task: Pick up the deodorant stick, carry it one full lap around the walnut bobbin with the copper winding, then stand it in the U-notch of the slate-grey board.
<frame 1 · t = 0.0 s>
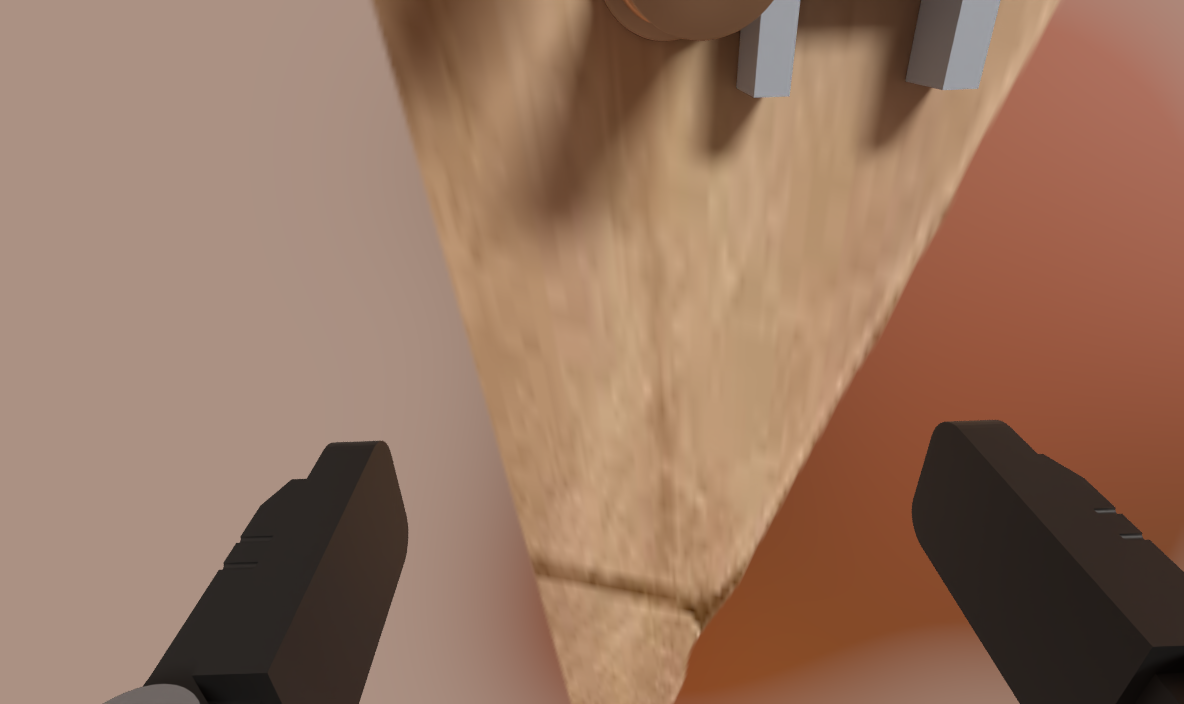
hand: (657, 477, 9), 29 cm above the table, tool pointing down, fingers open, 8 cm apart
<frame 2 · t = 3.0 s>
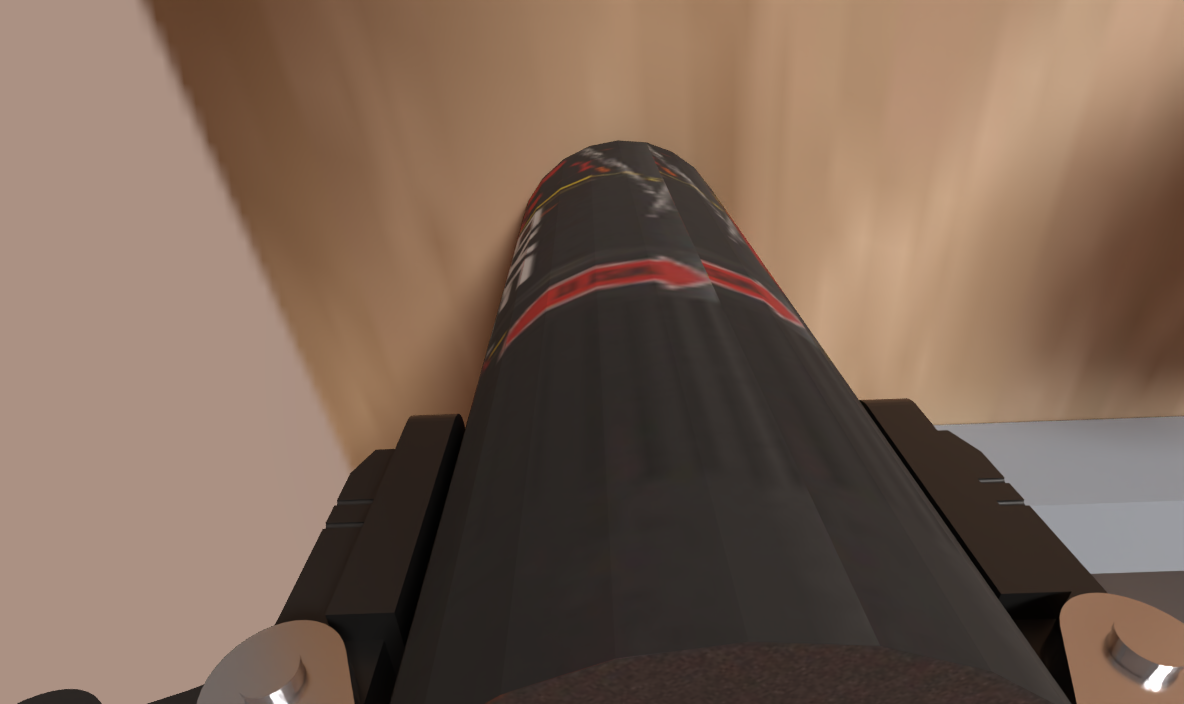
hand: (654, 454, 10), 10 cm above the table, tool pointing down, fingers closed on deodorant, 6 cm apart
deodorant: (621, 242, 18), on the table, touching gripper
notch board: (1016, 516, 24), on the table
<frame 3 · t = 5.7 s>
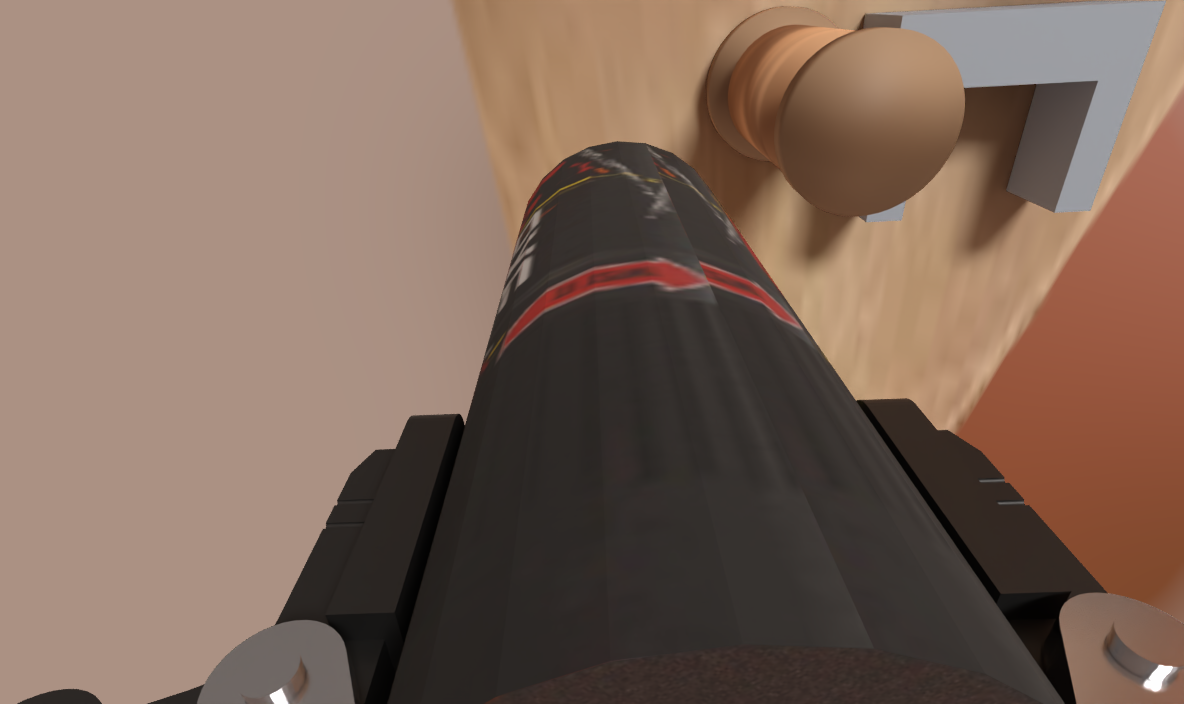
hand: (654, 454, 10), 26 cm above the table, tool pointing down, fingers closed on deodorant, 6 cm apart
deodorant: (620, 243, 18), point 16 cm above the table, touching gripper
notch board: (957, 107, 32), on the table
bobbin: (775, 85, 31), on the table
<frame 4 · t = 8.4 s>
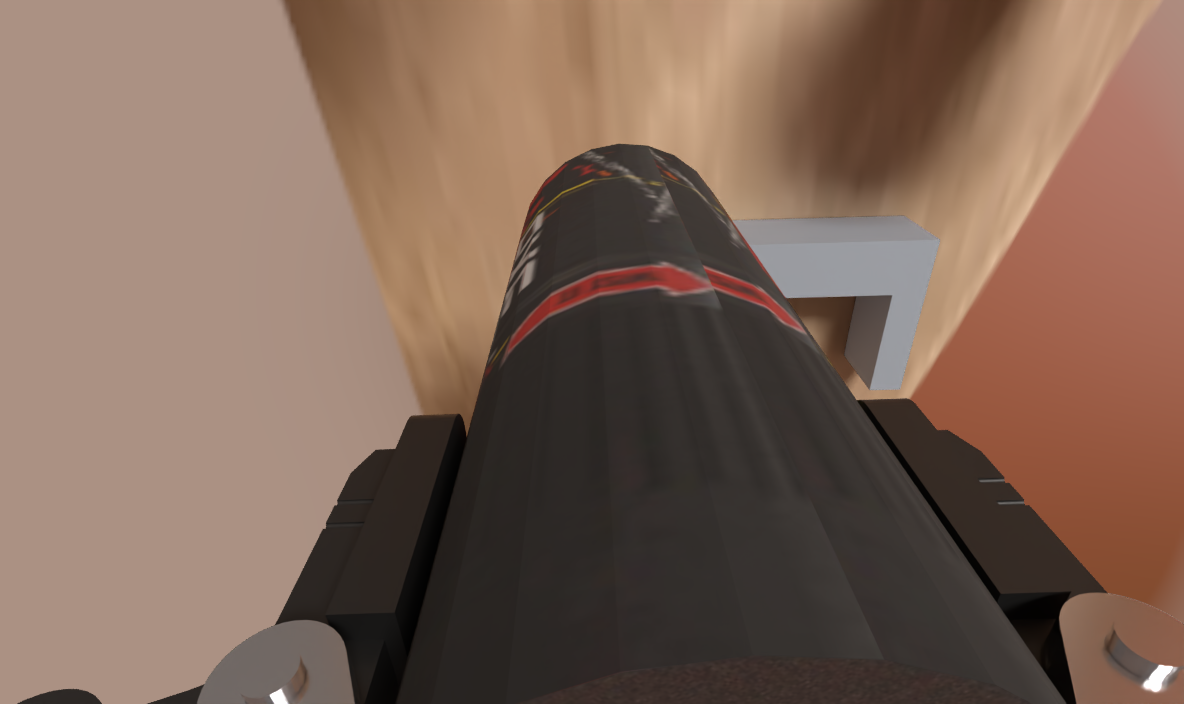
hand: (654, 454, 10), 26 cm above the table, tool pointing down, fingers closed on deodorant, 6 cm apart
deodorant: (622, 245, 18), point 16 cm above the table, touching gripper
notch board: (794, 291, 37), on the table
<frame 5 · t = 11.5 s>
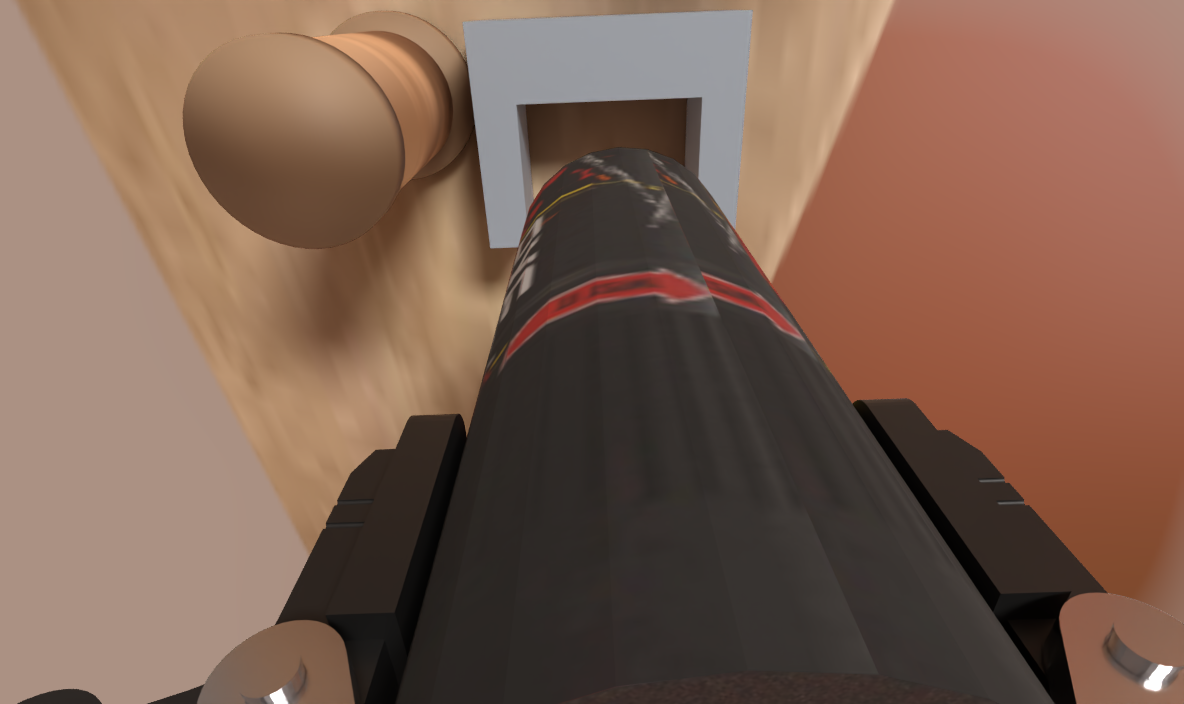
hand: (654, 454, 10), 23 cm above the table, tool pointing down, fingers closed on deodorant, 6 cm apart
deodorant: (622, 248, 18), point 13 cm above the table, touching gripper
notch board: (606, 123, 29), on the table
bobbin: (400, 97, 28), on the table
when the fingers open (11 cm above the table, at t = 14.0 s): deodorant drops 1 cm, on the table.
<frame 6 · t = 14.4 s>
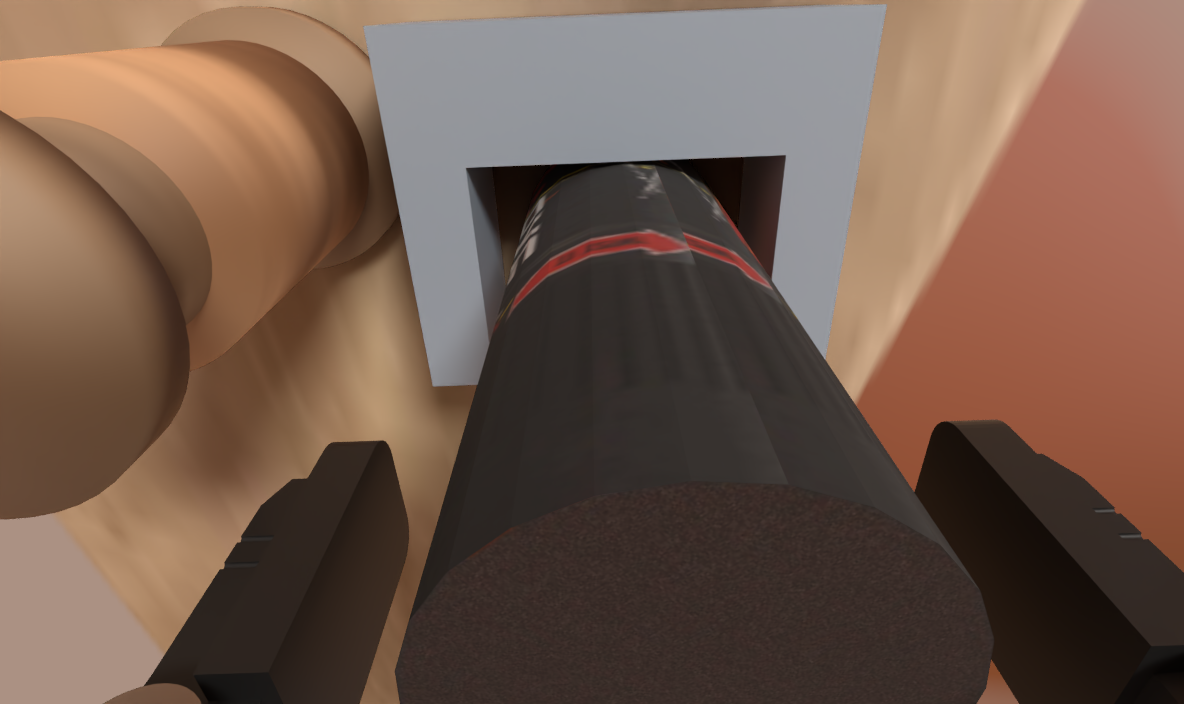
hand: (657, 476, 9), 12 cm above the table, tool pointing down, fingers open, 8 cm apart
deodorant: (620, 230, 20), on the table
notch board: (618, 183, 19), on the table
bobbin: (291, 144, 18), on the table
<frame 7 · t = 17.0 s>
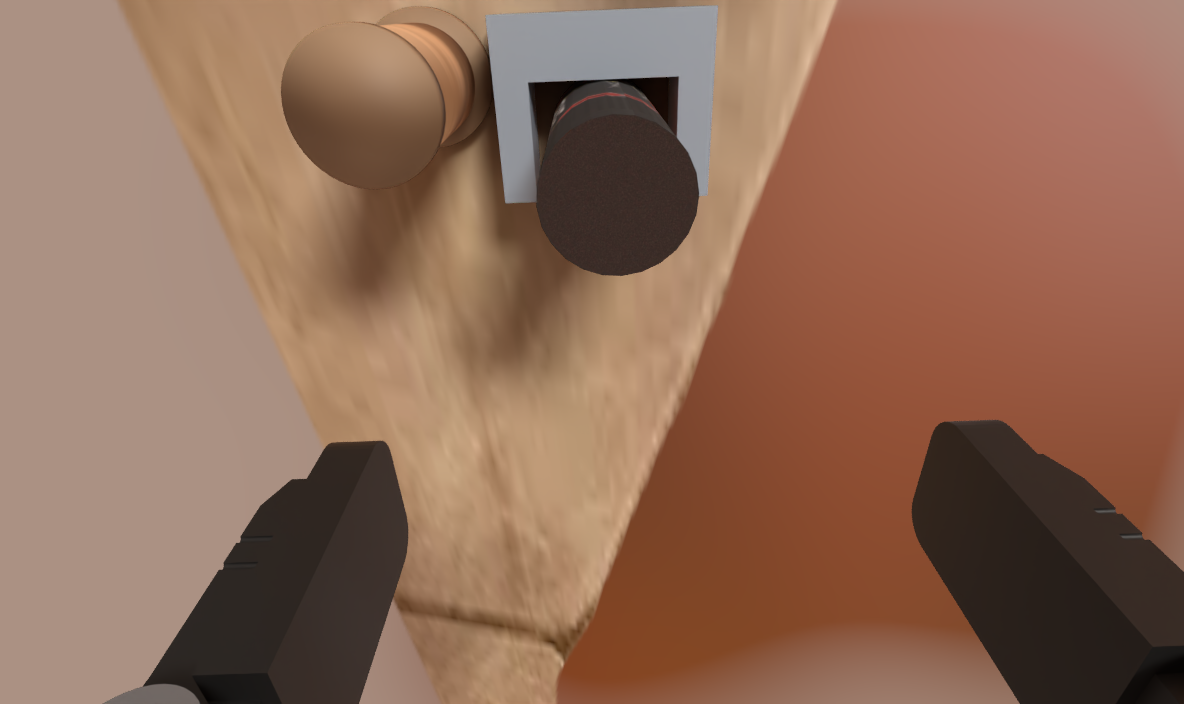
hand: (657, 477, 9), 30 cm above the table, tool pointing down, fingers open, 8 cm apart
deodorant: (603, 128, 36), on the table
notch board: (602, 101, 35), on the table
bobbin: (429, 78, 34), on the table
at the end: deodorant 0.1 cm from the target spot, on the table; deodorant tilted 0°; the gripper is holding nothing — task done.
